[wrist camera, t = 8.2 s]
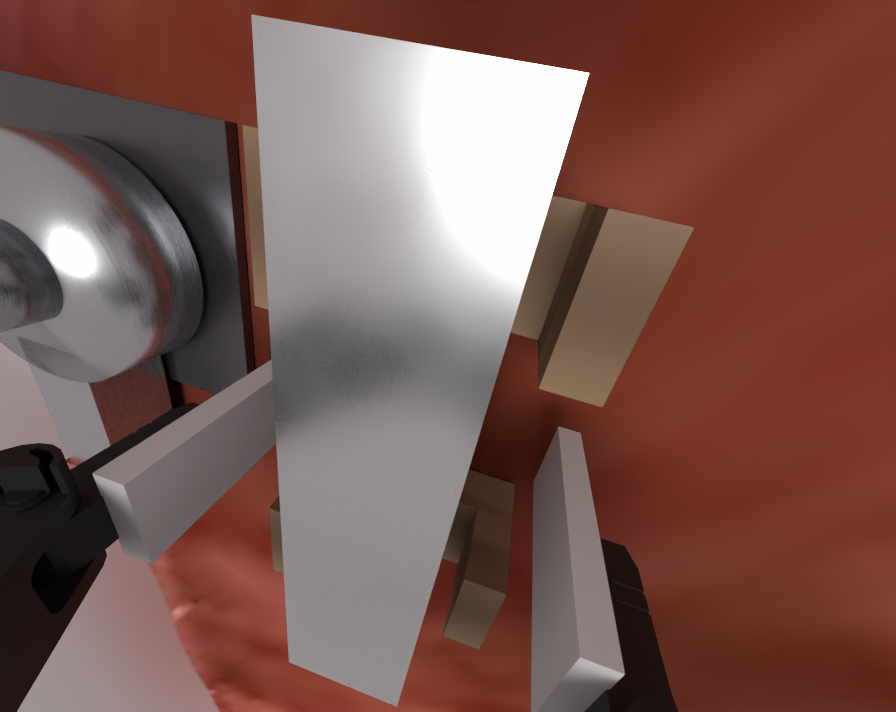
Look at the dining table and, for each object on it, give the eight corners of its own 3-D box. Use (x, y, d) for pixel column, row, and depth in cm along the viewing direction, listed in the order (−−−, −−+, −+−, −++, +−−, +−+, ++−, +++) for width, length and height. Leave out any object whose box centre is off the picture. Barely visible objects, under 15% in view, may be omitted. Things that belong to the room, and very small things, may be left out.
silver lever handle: (-19, 110, 13) (-267, 74, 9) (184, 160, 12) (9, 145, 8) (100, 438, 21) (-5, 497, 17) (230, 485, 20) (153, 560, 16)
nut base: (257, 399, 18) (250, 405, 17) (62, 336, 19) (51, 340, 18) (235, 123, 12) (224, 121, 12) (-38, 61, 13) (-58, 56, 13)
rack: (493, 537, 18) (479, 650, 13) (334, 482, 19) (273, 570, 14) (628, 212, 10) (694, 226, 6) (354, 150, 11) (242, 125, 7)
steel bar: (437, 554, 16) (396, 706, 11) (360, 526, 17) (288, 662, 12) (558, 141, 8) (589, 72, 4) (405, 110, 9) (251, 14, 4)
